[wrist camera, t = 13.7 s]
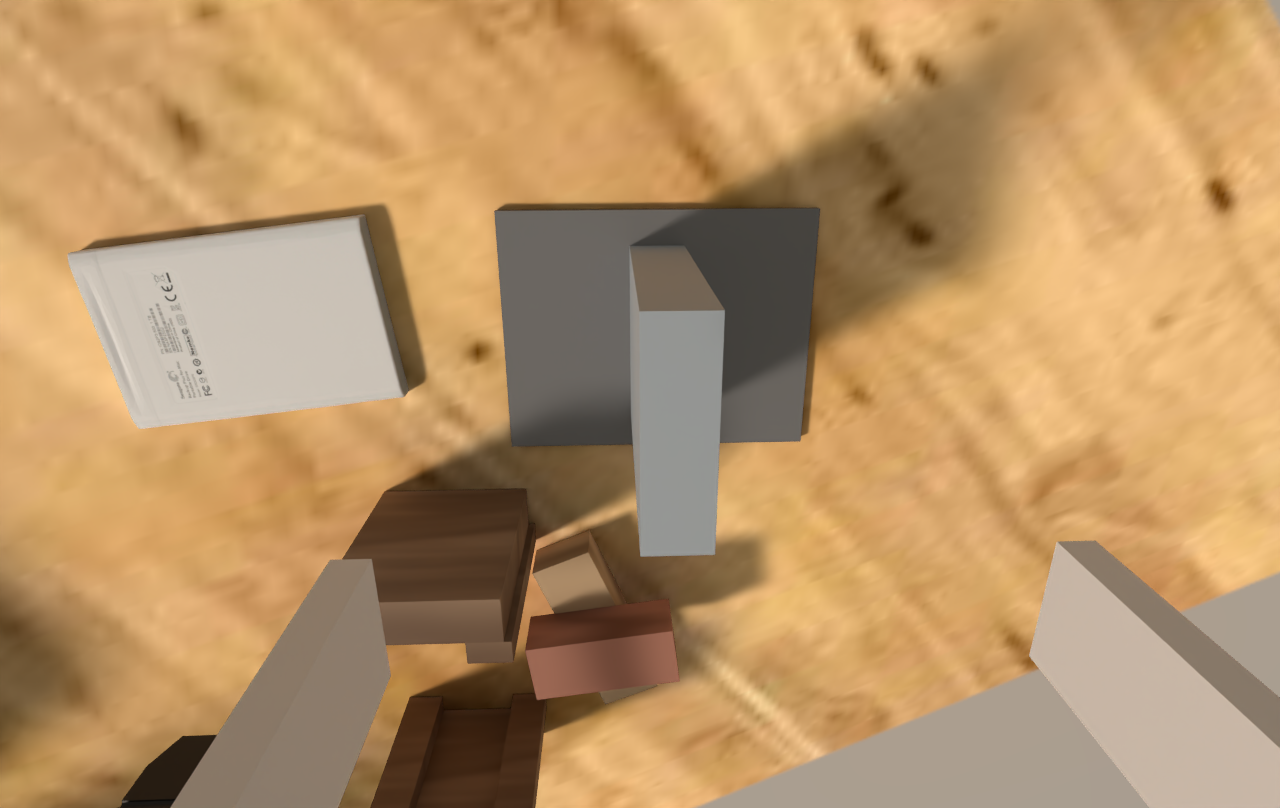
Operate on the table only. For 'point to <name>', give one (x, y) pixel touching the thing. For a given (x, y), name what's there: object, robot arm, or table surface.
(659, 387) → the grey upright panel
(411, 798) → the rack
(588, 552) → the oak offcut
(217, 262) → the external hard drive
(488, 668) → the table surface
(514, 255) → the mat
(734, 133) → the table surface
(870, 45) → the table surface
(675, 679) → the mahogany offcut
